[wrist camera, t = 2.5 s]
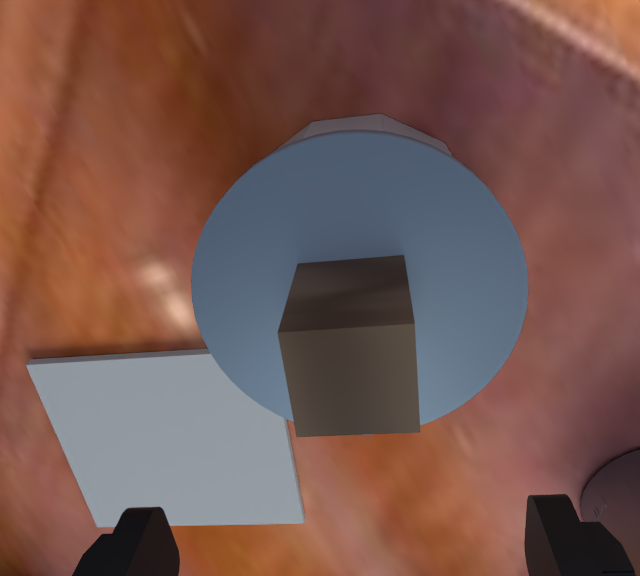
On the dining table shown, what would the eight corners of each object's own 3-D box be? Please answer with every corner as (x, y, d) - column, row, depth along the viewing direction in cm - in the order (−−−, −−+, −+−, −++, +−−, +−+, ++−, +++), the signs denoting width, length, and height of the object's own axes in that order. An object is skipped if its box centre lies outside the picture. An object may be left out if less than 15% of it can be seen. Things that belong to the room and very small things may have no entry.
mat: (272, 344, 30) (270, 350, 30) (304, 516, 37) (303, 523, 36) (31, 359, 32) (25, 365, 32) (101, 520, 38) (97, 527, 38)
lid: (528, 109, 18) (598, 147, 13) (514, 410, 24) (558, 528, 18) (165, 149, 20) (86, 199, 14) (233, 422, 25) (195, 534, 20)
